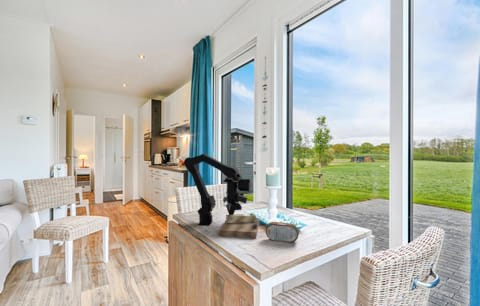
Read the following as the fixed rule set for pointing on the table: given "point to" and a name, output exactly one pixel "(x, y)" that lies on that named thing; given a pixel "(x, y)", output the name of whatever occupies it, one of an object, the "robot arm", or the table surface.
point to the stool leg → (240, 218)
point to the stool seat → (240, 229)
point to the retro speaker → (282, 232)
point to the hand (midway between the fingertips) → (231, 218)
